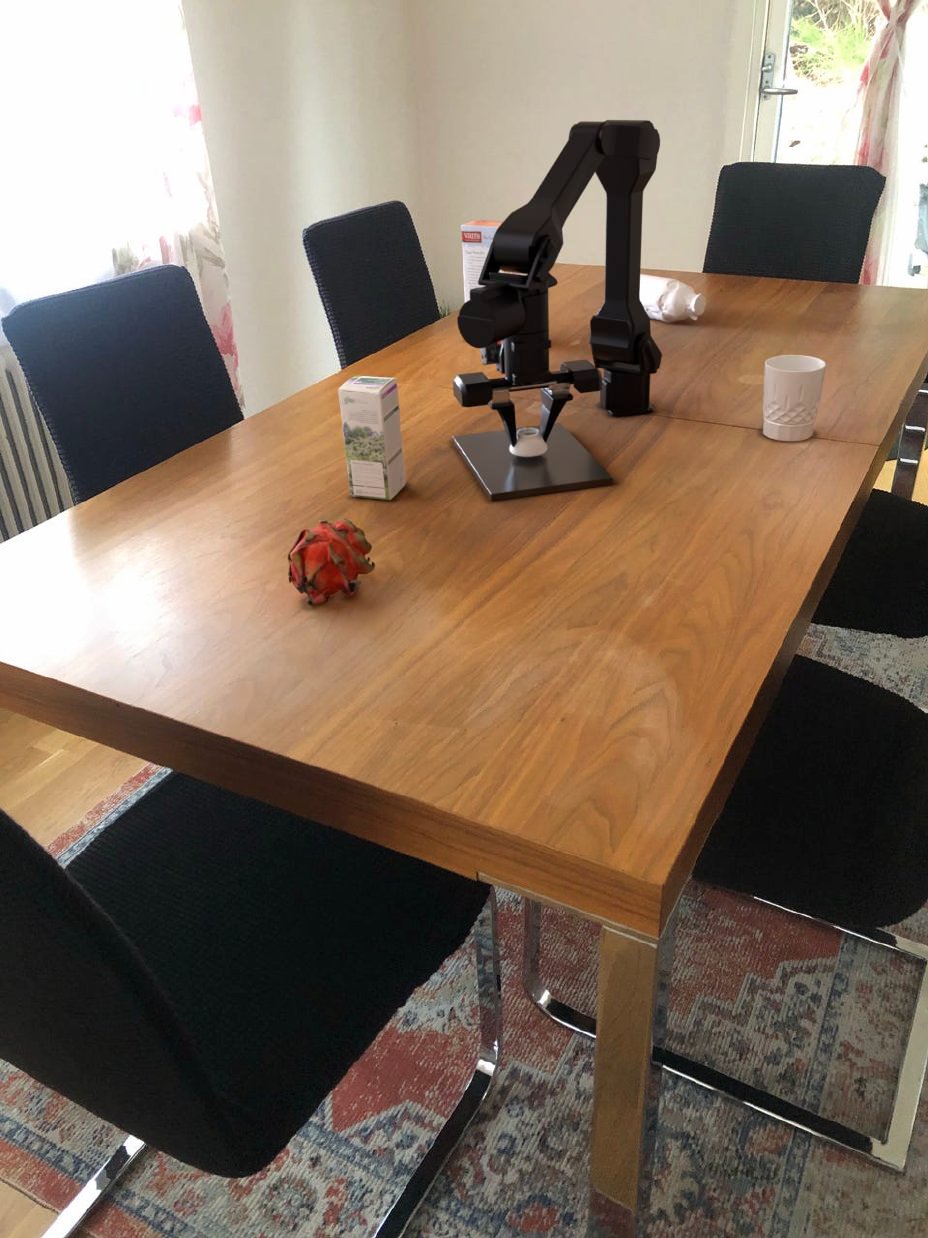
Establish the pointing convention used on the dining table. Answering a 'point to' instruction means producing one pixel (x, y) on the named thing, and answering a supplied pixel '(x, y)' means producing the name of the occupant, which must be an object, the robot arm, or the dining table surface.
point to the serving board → (530, 465)
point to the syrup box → (372, 436)
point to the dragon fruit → (329, 560)
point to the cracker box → (477, 251)
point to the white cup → (791, 396)
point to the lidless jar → (529, 443)
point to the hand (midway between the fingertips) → (528, 445)
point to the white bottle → (669, 299)
